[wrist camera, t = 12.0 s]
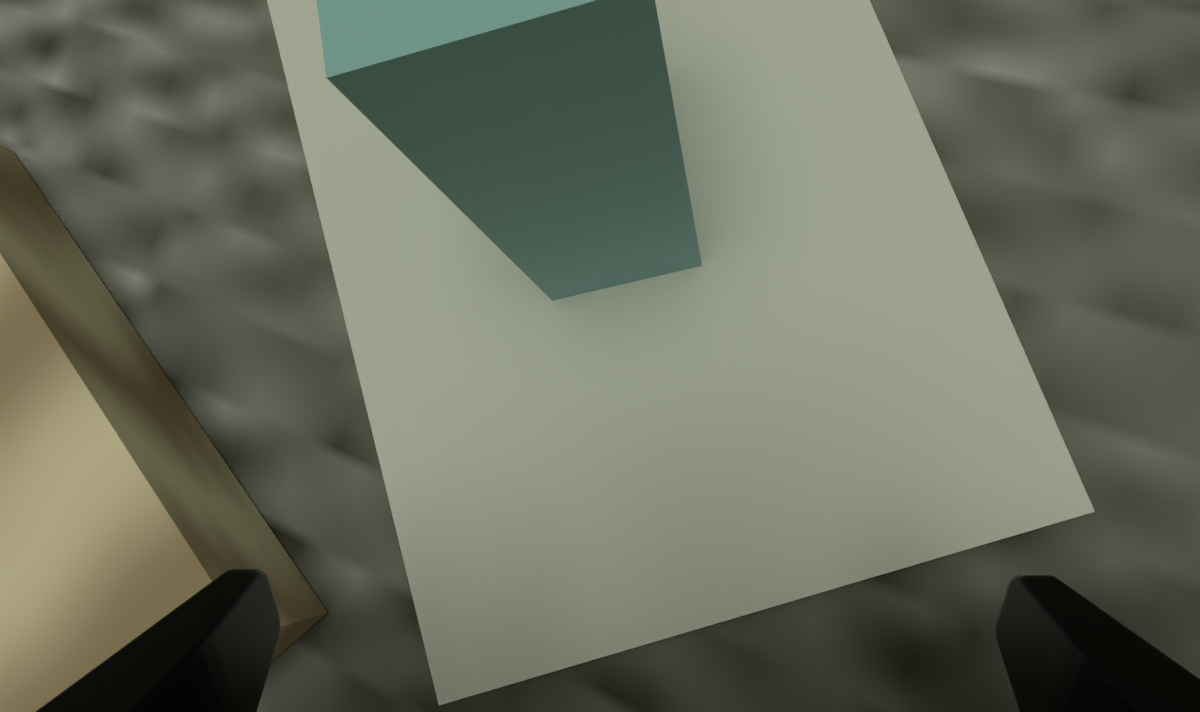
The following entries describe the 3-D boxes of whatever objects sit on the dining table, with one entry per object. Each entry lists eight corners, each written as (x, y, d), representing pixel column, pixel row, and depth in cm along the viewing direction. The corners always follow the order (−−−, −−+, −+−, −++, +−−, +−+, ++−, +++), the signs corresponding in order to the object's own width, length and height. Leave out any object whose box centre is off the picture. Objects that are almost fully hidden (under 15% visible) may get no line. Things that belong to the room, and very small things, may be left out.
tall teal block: (702, 265, 17) (652, -16, 8) (552, 300, 18) (326, 78, 8) (657, 67, 18) (563, -407, 9) (516, 105, 19) (277, -303, 9)
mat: (1086, 510, 16) (1094, 511, 15) (445, 700, 17) (438, 705, 17) (751, -254, 20) (751, -269, 19) (262, -44, 21) (254, -54, 21)
